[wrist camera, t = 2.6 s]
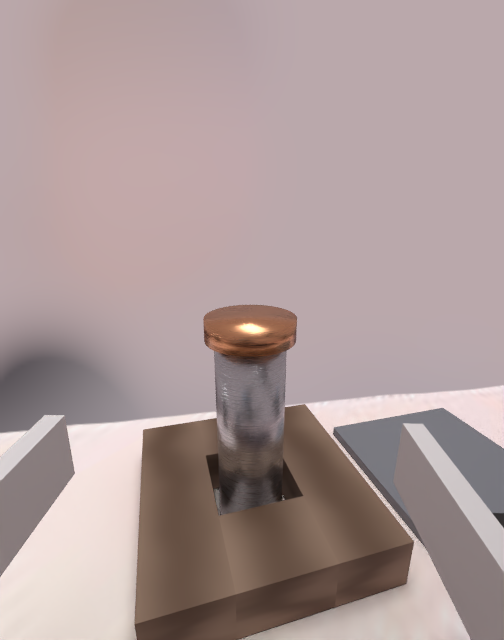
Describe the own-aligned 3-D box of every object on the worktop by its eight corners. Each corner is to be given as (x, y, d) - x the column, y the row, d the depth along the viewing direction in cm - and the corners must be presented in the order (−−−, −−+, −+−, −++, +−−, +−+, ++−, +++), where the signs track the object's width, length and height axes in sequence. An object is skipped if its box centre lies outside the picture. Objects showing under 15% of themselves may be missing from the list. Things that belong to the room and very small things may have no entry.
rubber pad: (441, 413, 40) (442, 407, 39) (580, 510, 27) (583, 502, 27) (333, 434, 36) (333, 427, 36) (433, 556, 23) (435, 547, 23)
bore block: (303, 433, 36) (304, 404, 35) (406, 583, 22) (413, 542, 20) (146, 461, 32) (143, 429, 31) (141, 670, 17) (134, 624, 16)
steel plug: (274, 475, 30) (278, 302, 26) (301, 534, 25) (312, 327, 20) (207, 490, 29) (198, 308, 24) (220, 555, 23) (211, 336, 19)
